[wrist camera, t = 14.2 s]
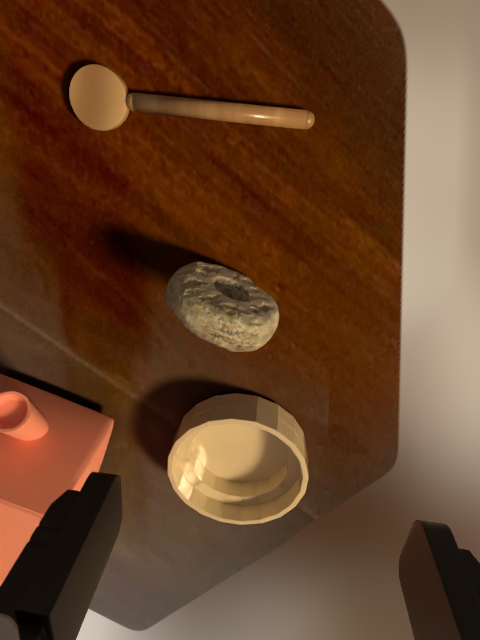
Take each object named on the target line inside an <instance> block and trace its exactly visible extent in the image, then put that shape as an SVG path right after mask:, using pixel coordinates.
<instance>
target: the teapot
mask: <svg viewBox="0 0 480 640" xmlns="http://www.w3.org/2000/svg"><path fill="white" fill-rule="evenodd" d="M113 424H114V420H113V419H112V418H110V417H108V416H106V415H104V414H101V413H99V412H96V411H94V410H92V409H89V408H87V407H84V406H82V405H79V404H77V403H74V402H72V401H69V400H67V399H64V398H62V397H59V396H57V395H54V394H52V393H49V392H47V391H44V390H41V389H39V388H36V387H34V386H31V385H29V384H26V383H23V382H21V381H18V380H16V379H13V378H10V377H8V376H5V375H2V374H0V586H1V585H2V583H3V581H4V580H5V578H6V576H7V575H8V573H9V572H10V570H11V568H12V567H13V565H14V563H15V562H16V560H17V558H18V557H19V555H20V554H21V552H22V550H23V549H24V547H25V545H26V544H27V542H29V540H30V537H31V536H32V534H33V532H34V531H35V529H36V527H38V526H39V522H40V521H41V519H42V518H43V516H44V514H45V513H46V511H47V509H48V508H49V506H50V504H51V503H53V502H54V501H55V500H56V499H57V498H58V497H60V496H61V495H62V494H63V493H64V492H65V491H67V490H68V489H69V490H76V491H80V490H81V488H82V486H83V485H84V483H85V481H86V479H87V478H88V476H89V474H90V473H91V472H99V469H100V466H101V463H102V460H103V457H104V454H105V451H106V448H107V445H108V442H109V439H110V435H111V432H112V428H113Z"/></svg>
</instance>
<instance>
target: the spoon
mask: <svg viewBox="0 0 480 640" xmlns="http://www.w3.org/2000/svg"><path fill="white" fill-rule="evenodd" d="M69 97H70V102H71V106H72V108H73V110H74V112H75V114H76V116H77V117H78V118H79V119H80V121H81V122H82V123H84V124H85V125H86V126H88V127H90V128H92V129H94V130H99V131H108V130H113V129H116V128H118V127H119V126H120V125H121V124H123V122H124V121H125V120H126V118H127V116H128V113H129V110H131V111H133V112H141V113H151V114H161V115H170V116H180V117H189V118H199V119H209V120H218V121H228V122H237V123H247V124H256V125H266V126H276V127H285V128H295V129H304V130H305V129H309V128H311V127H312V126H313V124H314V121H315V118H314V115H313V113H312V112H311V111H309V110H300V109H290V108H281V107H271V106H261V105H251V104H242V103H232V102H222V101H212V100H202V99H193V98H183V97H173V96H163V95H153V94H144V93H130V94H129V91H128V88H127V86H126V84H125V82H124V81H123V79H122V78H121V77H120V76H119V75H118V74H117V73H116V72H115V71H114V70H112V69H110V68H108V67H105V66H102V65H98V64H90V65H86V66H84V67H82V68H80V69H79V70H78V71H77V72H76V73H75V75H74V76H73V78H72V80H71V83H70V89H69Z"/></svg>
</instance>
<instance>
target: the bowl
mask: <svg viewBox="0 0 480 640" xmlns="http://www.w3.org/2000/svg"><path fill="white" fill-rule="evenodd" d="M168 476H169V478H170V481H171V484H172V486H173V489H174V490H175V491H176V493H177V494H178V495H179V496H180V497H181V499H182V500H183V501H184V502H185V503H186V504H187V505H189V506H190V507H192V508H193V509H195V510H196V511H197V512H199V513H200V514H202V515H205V516H207V517H210V518H213V519H215V520H218V521H221V522H227V523H233V524H240V525H244V524H258V523H264V522H267V521H270V520H273V519H276V518H279V517H281V516H282V515H284V514H285V513H287V512H288V511H290V510H291V509H293V508H294V507H295V506H296V505H297V503H298V502H299V501H300V499H301V498H302V497H303V495H304V494H305V491H306V486H307V482H308V477H309V476H308V462H307V448H306V443H305V438H304V433H303V431H302V429H301V428H300V426H299V425H298V423H297V422H296V420H295V419H294V417H293V416H292V415H290V414H289V413H288V412H287V411H285V410H284V409H283V408H282V407H280V406H279V405H277V404H276V403H273V402H271V401H268V400H266V399H264V398H261V397H259V396H254V395H247V394H239V393H233V394H226V395H218V396H214V397H211V398H209V399H207V400H205V401H202V402H200V403H198V404H196V405H195V406H194V407H193V408H192V409H191V410H190V411H189V412H188V413H187V414H186V415H184V417H183V419H182V421H181V423H180V425H179V428H178V430H177V432H176V435H175V438H174V441H173V444H172V447H171V450H170V453H169V455H168Z"/></svg>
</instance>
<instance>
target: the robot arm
mask: <svg viewBox="0 0 480 640" xmlns="http://www.w3.org/2000/svg"><path fill="white" fill-rule="evenodd" d="M121 520H122V496H121V478H120V476H119V475H113V474H107V473H100V472H91V473H90V474H89V476H88V478H87V479H86V481H85V483H84V485H83V486H82V488H81V490H80V491H76V490H69V489H68V490H67V491H65V492H64V493H63V494H62V495H61V496H60V497H58V498H57V499H56V500H55V501H54V502H53V503H51V504H50V506H49V508H48V509H47V511H46V513H45V514H44V516H43V518H42V519H41V521H40V522H39V526H38V527H36V529H35V531H34V532H33V534H32V536H31V537H30V540H29V542H27V544H26V545H25V547H24V549H23V550H22V552H21V554H20V555H19V557H18V558H17V560H16V562H15V563H14V565H13V567H12V568H11V570H10V572H9V573H8V575H7V576H6V578H5V580H4V581H3V583H2V585H1V586H0V640H76V638H77V635H78V633H79V630H80V628H81V625H82V623H83V620H84V618H85V615H86V613H87V610H88V608H89V606H90V603H91V601H92V598H93V596H94V593H95V591H96V588H97V586H98V583H99V581H100V578H101V576H102V573H103V571H104V568H105V566H106V563H107V561H108V558H109V556H110V553H111V551H112V549H113V546H114V544H115V541H116V539H117V536H118V533H119V529H120V525H121ZM399 578H400V583H401V587H402V591H403V595H404V599H405V603H406V607H407V611H408V615H409V619H410V623H411V627H412V631H413V635H414V639H415V640H480V563H479V562H478V561H477V559H476V558H475V557H474V556H473V555H472V553H471V552H470V551H469V550H464V549H458V546H457V544H456V541H455V539H454V536H453V534H452V532H451V530H450V528H449V527H448V526H447V525H446V524H441V523H434V522H427V521H420V520H416V521H415V522H414V523H413V525H412V528H411V530H410V533H409V535H408V538H407V540H406V543H405V545H404V547H403V550H402V552H401V555H400V559H399Z"/></svg>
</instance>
